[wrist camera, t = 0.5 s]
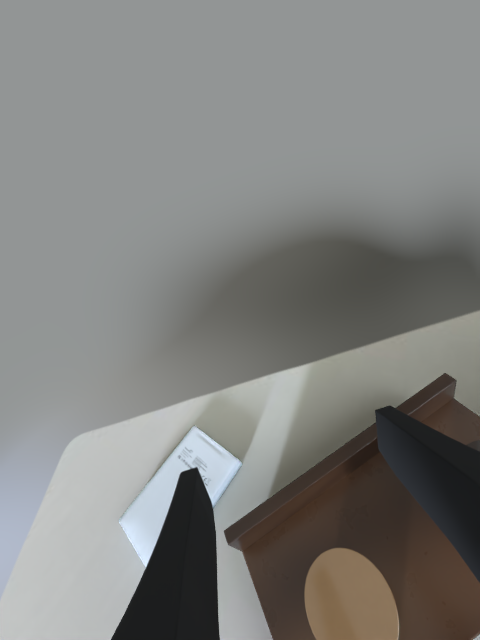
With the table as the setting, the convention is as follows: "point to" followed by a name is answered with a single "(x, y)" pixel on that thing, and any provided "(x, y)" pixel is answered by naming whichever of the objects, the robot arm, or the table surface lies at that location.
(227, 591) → the table surface
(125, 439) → the table surface
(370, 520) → the spice shelf
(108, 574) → the table surface
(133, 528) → the hard drive
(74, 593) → the table surface
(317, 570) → the sage jar
